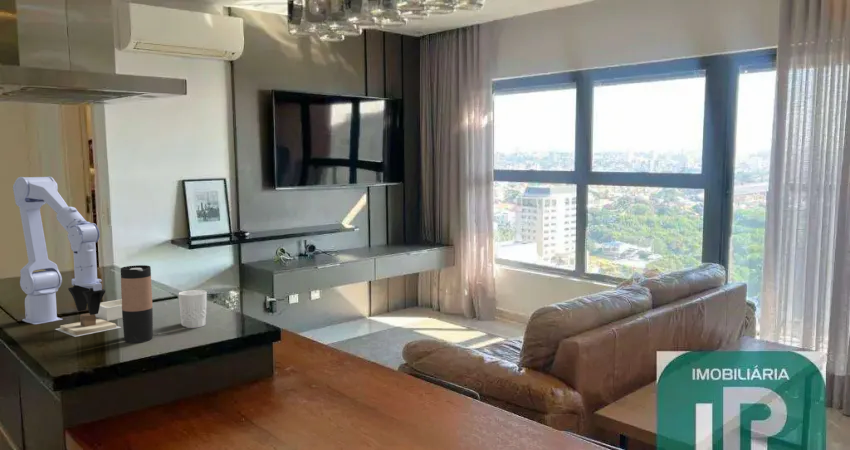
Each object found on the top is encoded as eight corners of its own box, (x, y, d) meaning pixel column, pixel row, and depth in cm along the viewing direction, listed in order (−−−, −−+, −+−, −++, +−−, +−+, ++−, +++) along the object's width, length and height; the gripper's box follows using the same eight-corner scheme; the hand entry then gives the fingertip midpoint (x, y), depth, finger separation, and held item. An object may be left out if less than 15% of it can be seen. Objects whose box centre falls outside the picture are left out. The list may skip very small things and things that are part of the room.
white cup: (198, 329, 185) (197, 295, 184) (174, 328, 187) (172, 294, 186) (212, 322, 193) (211, 290, 192) (189, 321, 195) (188, 289, 194)
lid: (60, 328, 184) (59, 315, 183) (98, 321, 192) (98, 308, 192) (77, 335, 177) (76, 321, 176) (116, 327, 185) (116, 314, 185)
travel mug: (129, 335, 178) (126, 265, 176) (157, 335, 179) (154, 265, 177) (118, 343, 171) (115, 269, 169) (148, 342, 171) (145, 269, 169)
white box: (93, 318, 199) (92, 303, 198) (122, 312, 206) (121, 299, 205) (107, 322, 193) (106, 307, 193) (136, 317, 200) (135, 302, 200)
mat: (54, 330, 183) (54, 329, 183) (100, 322, 194) (100, 320, 194) (75, 338, 175) (74, 336, 175) (121, 329, 186) (121, 327, 186)
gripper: (111, 266, 181) (113, 313, 183) (88, 261, 190) (90, 306, 192) (85, 269, 176) (88, 317, 177) (63, 264, 185) (65, 310, 186)
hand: (87, 312), depth 184 cm, fingers open, 7 cm apart
